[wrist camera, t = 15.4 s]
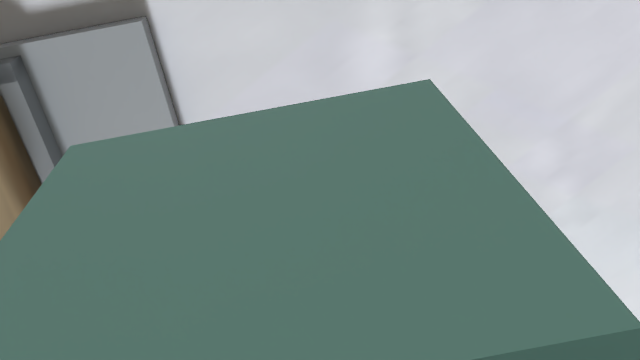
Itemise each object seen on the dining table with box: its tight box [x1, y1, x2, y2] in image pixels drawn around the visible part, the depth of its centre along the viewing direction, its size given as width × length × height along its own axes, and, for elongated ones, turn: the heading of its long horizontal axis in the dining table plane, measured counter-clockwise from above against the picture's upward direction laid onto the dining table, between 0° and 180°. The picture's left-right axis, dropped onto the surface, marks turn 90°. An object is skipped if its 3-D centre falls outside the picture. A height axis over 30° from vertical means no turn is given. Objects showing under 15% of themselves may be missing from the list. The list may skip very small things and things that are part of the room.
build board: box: [0, 16, 179, 184], centre depth 27 cm, size 16×12×2 cm
